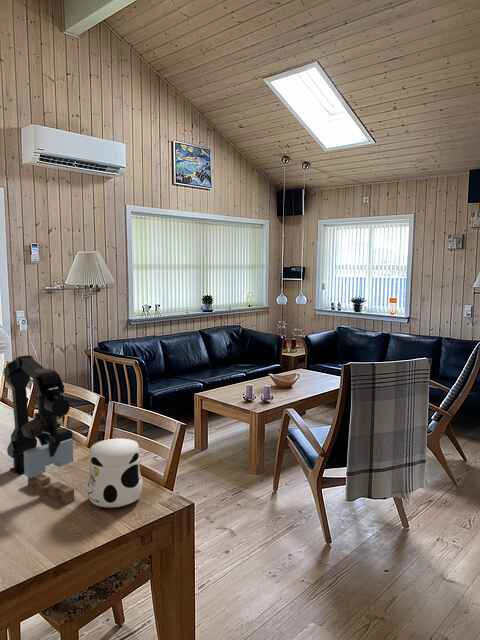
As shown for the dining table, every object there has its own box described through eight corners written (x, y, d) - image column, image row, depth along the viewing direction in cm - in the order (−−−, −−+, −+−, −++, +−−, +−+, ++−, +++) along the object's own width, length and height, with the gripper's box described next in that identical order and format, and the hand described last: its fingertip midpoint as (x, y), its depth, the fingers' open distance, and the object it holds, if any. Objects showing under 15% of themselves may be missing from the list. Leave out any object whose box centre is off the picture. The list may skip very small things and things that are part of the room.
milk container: (77, 500, 160) (75, 447, 158) (121, 483, 173) (121, 433, 171) (108, 519, 149) (107, 462, 147) (153, 499, 162) (153, 446, 160)
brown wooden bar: (28, 484, 171) (27, 473, 170) (36, 481, 173) (35, 470, 173) (66, 504, 158) (65, 492, 157) (74, 500, 160) (74, 488, 160)
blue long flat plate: (24, 475, 159) (23, 451, 158) (68, 459, 172) (67, 437, 171) (29, 477, 157) (28, 453, 156) (73, 461, 170) (72, 439, 169)
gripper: (8, 409, 161) (10, 455, 163) (41, 421, 150) (43, 471, 152) (40, 402, 170) (41, 445, 172) (73, 412, 159) (74, 459, 161)
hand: (49, 455), depth 164 cm, fingers closed on blue long flat plate, 3 cm apart
